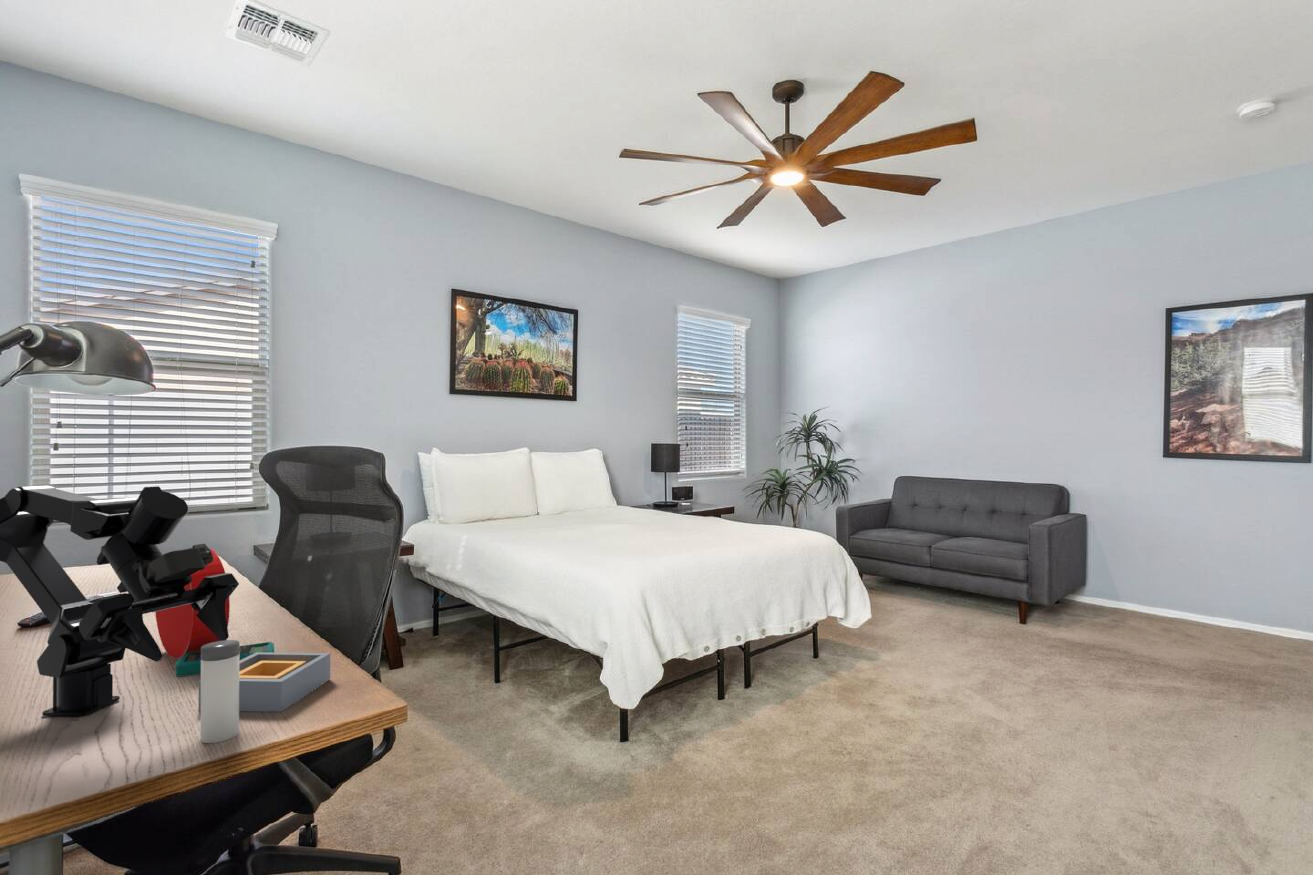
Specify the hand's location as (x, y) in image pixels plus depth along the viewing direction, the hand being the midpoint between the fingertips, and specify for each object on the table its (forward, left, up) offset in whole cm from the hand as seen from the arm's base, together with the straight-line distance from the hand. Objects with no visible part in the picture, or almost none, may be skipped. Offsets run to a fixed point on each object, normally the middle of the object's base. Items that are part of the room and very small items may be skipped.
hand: (194, 648), depth 90 cm
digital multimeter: (-15, +26, -12) cm, 33 cm away
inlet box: (+2, +13, -11) cm, 17 cm away
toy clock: (-26, +32, -12) cm, 43 cm away
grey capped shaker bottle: (+5, -1, -11) cm, 12 cm away
